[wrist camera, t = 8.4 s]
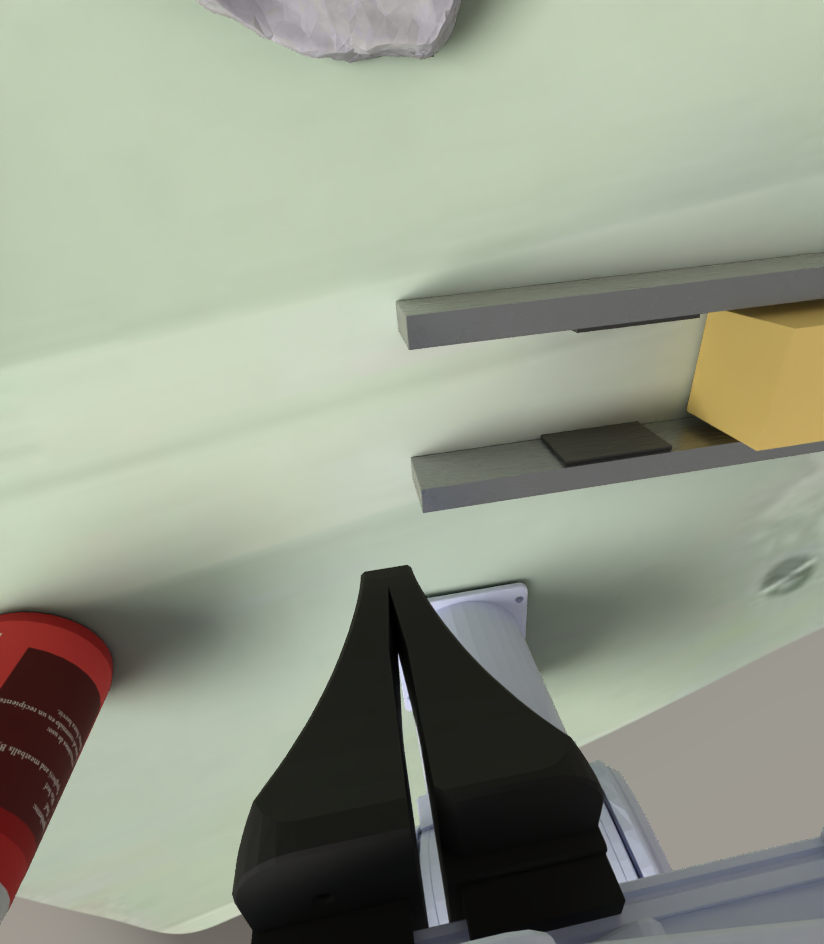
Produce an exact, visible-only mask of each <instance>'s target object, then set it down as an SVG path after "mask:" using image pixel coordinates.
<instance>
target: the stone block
mask: <svg viewBox="0 0 824 944" xmlns="http://www.w3.org/2000/svg"><path fill="white" fill-rule="evenodd" d="M195 1H197V2H198V3H199V4H201V5H202V6H203V7H204V8H206V9H208V10H210V11H211V12H213V13H215V14H220V15H223V16H226V17H229V18H232V19H234V20H235V21H237V22H238V23H240V24H242V25H243V26H245V27H246V28H248V29H250V30H252V31H254V32H255V33H256V34H258V35H259V36H260V37H263V38H266V39H269V40H272V41H274V42H276V43H278V44H280V45H282V46H284V47H287V48H289V49H291V50H293V51H295V52H297V53H300V54H302V55H305V56H309V57H312V58H325V57H331V58H332V59H334V60H344V61H347V62H349V63H351V62H355V61H359V60H365V59H371V58H376V57H380V56H384V55H387V56H395V57H400V56H404V57H415V58H419V59H425V58H429V57H434V54H435V53H437V52H438V51H439V50H440V49H441V48H442V46H443V44H445V42H446V41H447V40H448V39H449V37H450V35H451V33H452V30H453V28H454V25H455V23H456V18H457V15H458V12H459V7H460V4H461V1H462V0H195Z"/></svg>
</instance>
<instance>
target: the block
mask: <svg viewBox="0 0 824 944" xmlns="http://www.w3.org/2000/svg"><path fill="white" fill-rule="evenodd" d="M687 411H688V412H689V413H691V414H693V415H695V416H696V417H698V418H700V419H702V420H703V421H705V422H707V423H709V424H710V425H712V426H714V427H716V428H717V429H719V430H721V431H723V432H724V433H726V434H728V435H730V436H731V437H733V438H735V439H737V440H738V441H740V442H742V443H744V444H745V445H747V446H749V447H751V448H752V449H754V450H756V451H760V450H767V449H773V448H780V447H786V446H793V445H799V444H806V443H812V442H819V441H824V299H816V300H808V301H800V302H791V303H783V304H775V305H767V306H759V307H751V308H743V309H735V310H727V311H719V312H711V313H708V315H707V320H706V324H705V329H704V334H703V338H702V343H701V347H700V352H699V356H698V361H697V365H696V370H695V375H694V379H693V384H692V388H691V393H690V397H689V402H688V406H687Z"/></svg>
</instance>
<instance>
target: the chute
mask: <svg viewBox="0 0 824 944" xmlns="http://www.w3.org/2000/svg"><path fill="white" fill-rule="evenodd" d="M816 299H824V252H822V253H813V254H805V255H796V256H787V257H779V258H770V259H761V260H752V261H744V262H735V263H726V264H717V265H709V266H700V267H691V268H683V269H674V270H665V271H656V272H648V273H639V274H630V275H622V276H613V277H604V278H595V279H587V280H578V281H569V282H560V283H552V284H543V285H534V286H526V287H517V288H508V289H499V290H491V291H482V292H473V293H465V294H456V295H447V296H438V297H430V298H421V299H412V300H403V301H396V308H397V318H398V329H399V333H400V335H401V336H402V338H403V340H404V342H405V344H406V345H407V347H408V349H409V350H413V349H421V348H429V347H437V346H445V345H453V344H461V343H469V342H477V341H485V340H493V339H501V338H509V337H517V336H525V335H534V334H542V333H550V332H558V331H566V330H572V331H574V332H576V333H580V332H588V331H596V330H604V329H612V328H620V327H628V326H637V325H645V324H653V323H661V322H669V321H677V320H685V319H693V318H700V314H703V313H711V312H719V311H727V310H735V309H743V308H751V307H759V306H767V305H775V304H783V303H791V302H800V301H808V300H816ZM820 451H824V441H819V442H812V443H806V444H799V445H793V446H786V447H780V448H773V449H767V450H760V451H756V450H754V449H752V448H751V447H749V446H747V445H745V444H744V443H742V442H740V441H738V440H737V439H735V438H733V437H731V436H730V435H728V434H726V433H724V432H723V431H721V430H719V429H717V428H716V427H714V426H712V425H710V424H709V423H707V422H705V421H703V420H702V419H700V418H698V417H690V418H683V419H676V420H669V421H662V422H655V423H648V424H640V423H639V422H638V421H637V422H630V423H623V424H616V425H609V426H602V427H595V428H588V429H582V430H575V431H568V432H561V433H554V434H547V435H541V439H537V440H530V441H523V442H517V443H510V444H503V445H496V446H489V447H482V448H475V449H468V450H461V451H454V452H447V453H440V454H433V455H426V456H420V457H413V458H411V465H412V475H413V481H414V484H415V488H416V491H417V494H418V498H419V501H420V504H421V508H422V511H423V513H427V512H433V511H439V510H446V509H452V508H459V507H465V506H472V505H478V504H485V503H491V502H497V501H504V500H510V499H517V498H523V497H530V496H536V495H543V494H549V493H555V492H562V491H568V490H575V489H581V488H588V487H594V486H601V485H607V484H613V483H620V482H626V481H633V480H639V479H646V478H652V477H659V476H665V475H671V474H678V473H684V472H691V471H697V470H704V469H710V468H717V467H723V466H729V465H736V464H742V463H749V462H755V461H762V460H768V459H775V458H781V457H787V456H794V455H800V454H807V453H813V452H820Z"/></svg>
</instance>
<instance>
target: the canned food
mask: <svg viewBox="0 0 824 944" xmlns="http://www.w3.org/2000/svg"><path fill="white" fill-rule="evenodd" d="M112 674H113V660H112V656H111V654H110V651H109V649H108V647H107V646H106V645H105V643H104V642H103V641H102V640H101V639H100V638H99V637H98V636H97V635H96V634H95V633H94V632H92V631H90V630H89V629H87V628H86V627H84V626H82V625H80V624H78V623H76V622H73V621H71V620H69V619H66V618H62V617H59V616H55V615H50V614H43V613H37V612H17V613H7V614H2V615H0V924H1V921H2V920H3V918H4V917H5V915H6V913H7V912H8V910H9V908H10V906H11V904H12V902H13V900H14V897H15V895H16V893H17V891H18V889H19V887H20V884H21V882H22V881H23V879H24V877H25V875H26V873H27V871H28V868H29V866H30V864H31V862H32V859H33V857H34V855H35V853H36V851H37V848H38V846H39V844H40V842H41V840H42V837H43V835H44V833H45V831H46V829H47V826H48V824H49V822H50V820H51V818H52V815H53V813H54V811H55V809H56V807H57V804H58V802H59V800H60V798H61V796H62V793H63V791H64V789H65V787H66V784H67V782H68V780H69V778H70V776H71V773H72V771H73V769H74V767H75V765H76V762H77V760H78V758H79V756H80V754H81V751H82V749H83V747H84V745H85V743H86V740H87V738H88V736H89V734H90V732H91V729H92V727H93V725H94V723H95V721H96V718H97V716H98V714H99V712H100V709H101V707H102V705H103V703H104V701H105V698H106V696H107V694H108V692H109V690H110V686H111V682H112Z"/></svg>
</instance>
